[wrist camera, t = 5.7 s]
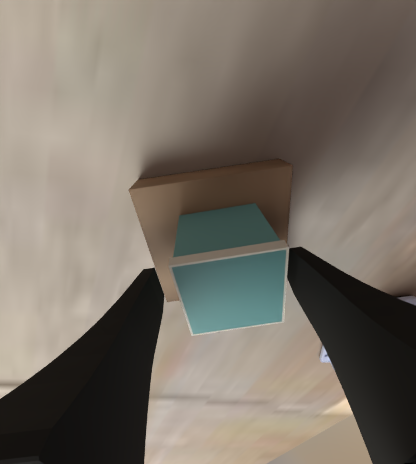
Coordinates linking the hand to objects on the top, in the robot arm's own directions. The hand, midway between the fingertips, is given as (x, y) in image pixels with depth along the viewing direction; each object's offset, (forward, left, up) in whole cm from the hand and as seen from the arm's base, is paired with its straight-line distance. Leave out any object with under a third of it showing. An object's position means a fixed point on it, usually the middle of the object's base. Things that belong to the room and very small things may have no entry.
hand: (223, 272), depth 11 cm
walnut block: (0, 0, -5) cm, 5 cm away
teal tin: (0, 0, -3) cm, 3 cm away
